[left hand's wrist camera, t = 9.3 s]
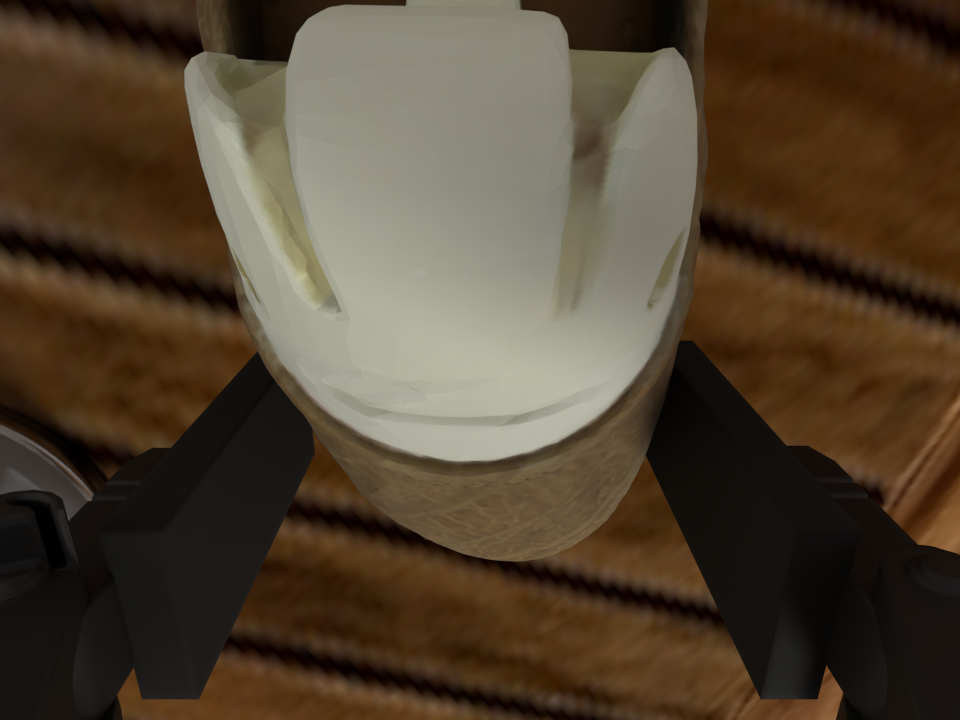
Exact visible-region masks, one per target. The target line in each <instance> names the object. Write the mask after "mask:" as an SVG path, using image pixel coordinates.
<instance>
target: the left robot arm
mask: <svg viewBox="0 0 960 720" xmlns="http://www.w3.org/2000/svg"><path fill="white" fill-rule="evenodd" d="M314 454H315V450H314V441H313V432H312V427H311V425H310V424H309V422H308V420H307V419H306V417H305V416H304V414H303V413H301V411H300V410H299V409H298V408H297V407H296V406H295V405H294V404H293V403H292V401H291V400H290V399H289V397H288V396H287V395H286V394H285V392H284V391H283V390H282V389H281V387H280V386H279V385H278V383H277V382H276V381H275V380H274V378H273V377H272V375H271V374H270V373H269V371H268V370H267V368H266V366H265V364H264V362H263V360H262V358H261V356H260V355H259V353H258V352H257V353H256V354H255V355H254V356H253V357H252V358H251V359H250V360H249V362H248V363H247V364H246V365H245V366H244V367H243V368H242V369H241V371H240V372H239V373H238V374H237V375H236V376H235V377H234V378H233V379H232V381H231V382H230V383H229V384H228V385H227V386H226V387H225V388H224V389H223V391H222V392H221V393H220V394H219V395H218V396H217V397H216V398H215V400H214V401H213V402H212V403H211V404H210V405H209V406H208V407H207V408H206V410H205V411H204V412H203V413H202V414H201V415H200V416H199V417H198V419H197V420H196V421H195V422H194V423H193V424H192V425H191V426H190V427H189V429H188V430H187V431H186V432H185V433H184V434H183V435H182V436H181V437H180V439H179V440H178V441H177V442H176V443H175V444H174V445H173V446H172V448H151V449H150V450H148V451H146V452H144V453H143V454H141V455H139V456H137V457H136V458H134V459H132V460H130V461H129V462H127V463H125V464H124V465H123V466H122V467H121V468H120V469H119V470H118V471H117V472H116V473H115V474H114V475H113V476H112V477H111V478H110V479H109V480H108V481H107V483H106V482H105V481H104V480H103V479H102V477H101V476H100V475H99V474H98V473H97V471H96V470H95V469H94V468H93V467H92V466H91V465H90V464H89V463H88V462H87V461H86V460H85V459H84V458H83V457H82V456H80V455H79V454H78V453H77V452H76V451H75V450H73V449H72V448H71V447H70V446H69V445H67V444H66V443H65V442H63V441H62V440H60V439H59V438H58V437H56V436H55V435H54V434H52V433H50V432H49V431H47V430H46V429H44V428H42V427H41V426H39V425H37V424H36V423H34V422H32V421H30V420H28V419H26V418H24V417H22V416H20V415H18V414H16V413H13V412H11V411H9V410H6V409H4V408H2V407H0V720H123V718H122V712H121V707H120V703H119V699H118V696H117V694H118V692H119V690H120V689H121V687H122V686H123V684H124V682H125V681H126V679H127V677H128V676H129V674H130V673H131V671H132V669H133V668H134V670H135V673H136V677H137V681H138V685H139V689H140V693H141V696H142V699H199V698H200V696H201V693H202V691H203V689H204V687H205V685H206V683H207V681H208V679H209V677H210V674H211V672H212V670H213V668H214V666H215V664H216V662H217V660H218V657H219V655H220V653H221V651H222V649H223V647H224V645H225V643H226V640H227V638H228V636H229V634H230V632H231V630H232V628H233V626H234V623H235V621H236V619H237V617H238V615H239V613H240V611H241V609H242V606H243V604H244V602H245V600H246V598H247V596H248V594H249V592H250V590H251V587H252V585H253V583H254V581H255V579H256V577H257V575H258V573H259V570H260V568H261V566H262V564H263V562H264V560H265V558H266V556H267V553H268V551H269V549H270V547H271V545H272V543H273V541H274V539H275V536H276V534H277V532H278V530H279V528H280V526H281V524H282V522H283V520H284V517H285V515H286V513H287V511H288V509H289V507H290V505H291V503H292V500H293V498H294V496H295V494H296V492H297V490H298V488H299V486H300V483H301V481H302V479H303V477H304V475H305V473H306V471H307V469H308V466H309V464H310V462H311V460H312V458H313V456H314ZM646 457H647V459H648V461H649V463H650V465H651V467H652V469H653V472H654V474H655V476H656V478H657V480H658V482H659V484H660V486H661V489H662V491H663V493H664V495H665V497H666V499H667V501H668V503H669V506H670V508H671V510H672V512H673V514H674V516H675V518H676V520H677V523H678V525H679V527H680V529H681V531H682V533H683V535H684V537H685V539H686V542H687V544H688V546H689V548H690V550H691V552H692V554H693V556H694V559H695V561H696V563H697V565H698V567H699V569H700V571H701V573H702V576H703V578H704V580H705V582H706V584H707V586H708V588H709V590H710V593H711V595H712V597H713V599H714V601H715V603H716V605H717V607H718V610H719V612H720V614H721V616H722V618H723V620H724V622H725V624H726V627H727V629H728V631H729V633H730V635H731V637H732V639H733V641H734V643H735V646H736V648H737V650H738V652H739V654H740V656H741V658H742V660H743V663H744V665H745V667H746V669H747V671H748V673H749V675H750V677H751V680H752V682H753V684H754V686H755V688H756V690H757V692H758V694H759V697H760V699H817V698H818V695H819V691H820V687H821V683H822V679H823V675H824V672H825V668H826V665H827V667H828V668H829V670H830V672H831V673H832V675H833V676H834V678H835V680H836V681H837V683H838V684H839V686H840V688H841V689H842V691H843V696H842V699H841V703H840V707H839V710H838V714H837V717H836V720H960V555H958V554H956V553H953V552H950V551H946V550H943V549H939V548H936V547H933V546H925V545H918V544H917V543H916V542H915V541H914V540H913V539H912V538H911V537H910V536H909V535H908V534H907V533H906V532H905V531H904V530H903V529H902V528H901V527H900V526H899V525H898V524H897V523H896V522H895V521H894V520H893V519H892V518H891V517H890V516H889V515H888V514H887V513H886V512H885V511H884V510H883V509H882V508H881V507H880V506H879V505H878V504H877V503H876V502H875V501H874V500H873V499H871V498H868V494H867V493H866V492H865V491H864V490H863V489H862V488H861V487H860V486H859V485H858V484H857V483H853V479H852V478H851V477H850V476H849V475H848V474H847V473H846V472H845V471H844V470H843V469H842V468H841V467H840V466H839V465H838V464H837V463H836V462H835V461H834V460H832V459H830V458H828V457H827V456H825V455H823V454H821V453H819V452H818V451H816V450H814V449H812V448H811V447H809V446H786V445H785V444H784V442H783V441H782V440H781V439H780V438H779V437H778V436H777V435H776V434H775V432H774V431H773V430H772V429H771V428H770V427H769V426H768V425H767V423H766V422H765V421H764V420H763V419H762V418H761V417H760V416H759V415H758V413H757V412H756V411H755V410H754V409H753V408H752V407H751V406H750V405H749V403H748V402H747V401H746V400H745V399H744V398H743V397H742V396H741V394H740V393H739V392H738V391H737V390H736V389H735V388H734V387H733V386H732V384H731V383H730V382H729V381H728V380H727V379H726V378H725V377H724V375H723V374H722V373H721V372H720V371H719V370H718V369H717V368H716V367H715V365H714V364H713V363H712V362H711V361H710V360H709V359H708V358H707V357H706V355H705V354H704V353H703V352H702V351H701V350H700V349H699V348H698V346H697V345H696V344H695V343H694V342H693V341H679V344H678V348H677V352H676V357H675V362H674V366H673V371H672V376H671V380H670V383H669V387H668V391H667V394H666V398H665V401H664V404H663V407H662V410H661V412H660V415H659V418H658V421H657V424H656V427H655V430H654V433H653V436H652V439H651V441H650V444H649V447H648V450H647V452H646Z"/></svg>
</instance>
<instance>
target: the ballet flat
mask: <svg viewBox="0 0 960 720" xmlns="http://www.w3.org/2000/svg"><path fill="white" fill-rule="evenodd" d="M707 7H708V0H196V10H197V19H198V25H199V30H200V35H201V39H202V44H203V48H204V52H203V53H201V54H199V55H197V56H195V57H193V58H191V60H190V62H189V64H188V65H187V67H186V69H185V70H184V72H185V91H186V97H187V102H188V107H189V113H190V118H191V123H192V127H193V132H194V136H195V140H196V145H197V149H198V153H199V157H200V162H201V165H202V168H203V171H204V175H205V178H206V181H207V184H208V188H209V191H210V194H211V197H212V200H213V204H214V207H215V210H216V213H217V216H218V218H219V221H220V223H221V225H222V228H223V230H224V232H225V235H226V238H227V249H228V259H229V266H230V270H231V274H232V278H233V283H234V287H235V291H236V296H237V302H238V307H239V309H240V312H241V315H242V317H243V320H244V322H245V325H246V327H247V329H248V332H249V334H250V337H251V339H252V341H253V343H254V345H255V347H256V349H257V351H258V353H259V355H260V356H261V358H262V360H263V362H264V364H265V366H266V368H267V370H268V371H269V373H270V374H271V375H272V377H273V378H274V380H275V381H276V382H277V383H278V385H279V386H280V387H281V389H282V390H283V391H284V392H285V394H286V395H287V396H288V397H289V399H290V400H291V401H292V403H293V404H294V405H295V406H296V407H297V408H298V409H299V410H300V411H301V413H303V414H304V416H305V417H306V419H307V420H308V422H309V424H310V425H311V427H312V428H313V430H314V432H315V433H316V435H317V437H318V438H319V440H320V441H321V443H322V444H323V445H324V446H325V447H326V448H327V450H328V451H329V452H330V454H331V455H332V456H333V457H334V458H335V460H336V461H337V462H338V463H339V465H340V466H341V467H342V468H343V469H344V471H345V472H346V473H347V475H348V476H349V478H350V479H351V480H352V482H353V483H354V485H355V486H356V487H357V489H358V490H359V491H360V493H361V494H362V495H363V496H364V497H366V498H367V499H368V500H369V501H370V502H371V503H372V504H373V505H374V506H375V507H376V508H378V509H379V510H380V511H381V512H382V513H384V514H385V515H387V516H388V517H390V518H391V519H393V520H394V521H396V522H397V523H399V524H401V525H403V526H404V527H406V528H408V529H410V530H412V531H414V532H416V533H418V534H420V535H421V536H423V537H424V538H426V539H429V540H431V541H433V542H435V543H437V544H439V545H442V546H445V547H447V548H450V549H452V550H455V551H457V552H460V553H462V554H466V555H471V556H475V557H480V558H485V559H491V560H501V561H516V562H518V561H528V560H533V559H540V558H544V557H547V556H551V555H554V554H556V553H558V552H561V551H563V550H565V549H567V548H570V547H571V546H573V545H575V544H576V543H578V542H579V541H581V540H583V539H584V538H586V537H587V536H588V535H590V534H591V533H592V532H594V531H595V530H596V529H597V528H599V527H600V526H601V525H602V524H603V523H604V522H605V521H606V520H607V519H608V518H609V516H610V515H611V514H612V512H613V511H614V510H615V509H616V507H617V505H618V503H619V502H620V500H621V499H622V498H623V496H624V495H625V494H626V492H627V491H628V489H629V487H630V485H631V483H632V482H633V480H634V478H635V476H636V474H637V472H638V470H639V468H640V466H641V464H642V462H643V460H644V458H645V455H646V452H647V450H648V447H649V444H650V441H651V439H652V436H653V433H654V430H655V427H656V424H657V421H658V418H659V415H660V412H661V410H662V407H663V404H664V401H665V398H666V394H667V391H668V387H669V383H670V380H671V376H672V371H673V366H674V362H675V357H676V352H677V348H678V344H679V340H680V337H681V335H682V332H683V328H684V324H685V320H686V316H687V312H688V309H689V306H690V303H691V300H692V297H693V293H694V270H695V265H696V260H697V252H698V244H699V236H700V224H699V216H700V212H701V208H702V204H703V195H704V185H705V173H706V168H707V159H708V147H707V132H706V124H705V114H704V106H703V94H704V89H705V78H704V35H705V28H706V20H707Z"/></svg>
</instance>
